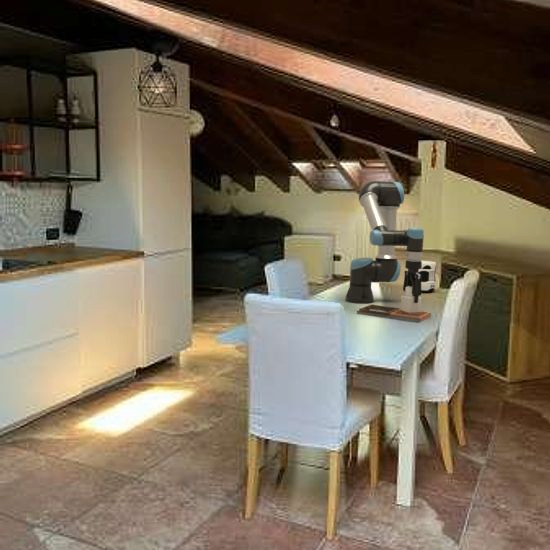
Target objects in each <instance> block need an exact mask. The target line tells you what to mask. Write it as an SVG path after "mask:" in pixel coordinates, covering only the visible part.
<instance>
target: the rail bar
mask: <svg viewBox="0 0 550 550" xmlns="http://www.w3.org/2000/svg"><path fill="white" fill-rule="evenodd" d="M356 314H357V315H363V316H371V317H377V318H385V319H389V320H390V319H391V320H398V321H405V322H409V323H410V322H412V323H421V322H420V319H413V318H407V317H400V316H393V315H386V314H379V313H372V312H365V311H359V310H357V311H356Z"/></svg>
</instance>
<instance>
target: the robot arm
mask: <svg viewBox="0 0 550 550" xmlns="http://www.w3.org/2000/svg"><path fill="white" fill-rule="evenodd" d="M358 201H359V205H360V206H361V207H362V208H363V210H364V212H365V215H366V218H367V221H368V223H369V226H370V229H371V231H370V233H369V242H370V244H371V245H372V246H378V254H377V255H376V256H375V260H373V258H372V257H359V258H358V257H357V258H354V259H352V260H351V261H350V266H349V270H350V273H349V287H348V290H347V292H346V294H345V301H347V302H350V303H355V304H371V303H374V300H375V297H374V294H373V293H374V292H373V289H372V283H393V282H396V281H398V279H399V276H400V274H401V270H402V269H401V268H402V266H401V262H400V261H399V260H398V256H396V254H395V253H396V252H395V251H396V247H406V252H405V260H406V261H405V266H404V267H405V269H407V270H404V277H403V286H402V291H403V293H405V289H406V287H407V286H412V285H413V294H414V295H412V296H413V297H412V310H418V297H420V296H422V292H421V278H422V275H421V274H419V271H418V270H419V269H421V268H422V262H421V261H423V251H424V249H423V248H424V236H425V234H424V233H425V231H424V228H422V227H409V228H407V229H403V230H397V228H396V227H397V214H398V212H397V211H398V210H399V209H400V208H401V205H402V204H403V203H404V201H405V189H404V186H403V185H402V183H400V182H398V181H386V180H385V181H383V180H382V181H381V180H378V181H377V180H371V181H369V182H367V183H365V184H364V185H363V186H362V187H361V189H360V191H359V193H358Z"/></svg>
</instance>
